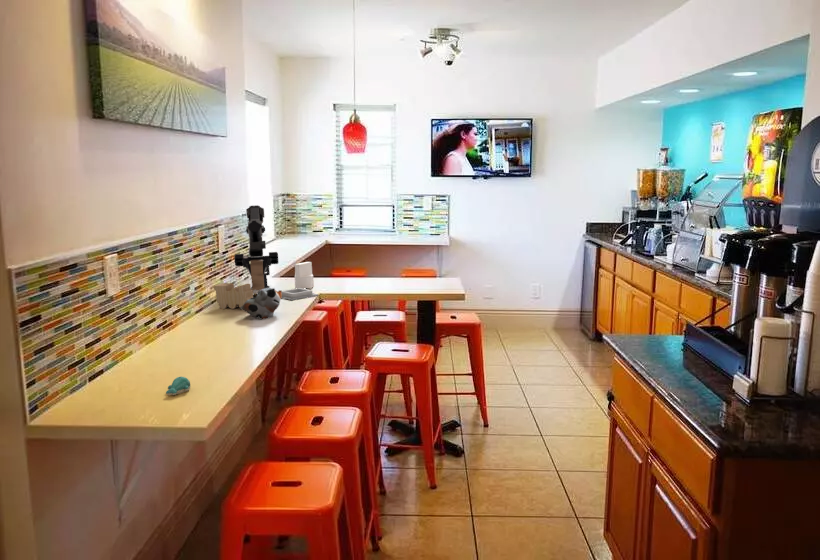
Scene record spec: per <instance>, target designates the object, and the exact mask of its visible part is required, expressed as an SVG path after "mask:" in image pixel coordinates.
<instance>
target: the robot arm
mask: <svg viewBox="0 0 820 560" xmlns="http://www.w3.org/2000/svg"><path fill="white" fill-rule="evenodd" d="M245 211H246V218H247V219H248V222H247V226H246V227H245V229H246V230H245V231H246V232H245V233H246V234H247V235H248V239H249V240H248V243H249V248H248V253H249V255H244V254H245V253H237V254H234V256H233V259H234V265H235V266H236V267H242V268H246V270H247V271H248V274H249V275H250V276H251V264H250V261H251V260H262V261H263V275H264V289H265V288H271V286H270V285H268V277H267V276H270V274H271V272H270V267H271V266H272V265H278V264H279V254H278V252H277V251H271V252H268V255H264V250H265V249H266V247H267V246H266V240H263V234H264V233H265V232H266V227H264V225H263V223H264V218H265V209H264V207H262V206H260V205H258V204H257V205H249V207H248V208H246V210H245ZM251 289H252V286H251Z"/></svg>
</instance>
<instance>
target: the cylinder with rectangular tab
mask: <svg viewBox="0 0 820 560" xmlns="http://www.w3.org/2000/svg"><path fill="white" fill-rule="evenodd" d="M312 264H313V263H312V261H305V262H299V263H294V287H295V288H294V289H296V288H302V289H304V288H310V289H313V288H312V287H315V280H314V274H313V265H312Z"/></svg>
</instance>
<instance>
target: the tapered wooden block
mask: <svg viewBox="0 0 820 560" xmlns="http://www.w3.org/2000/svg"><path fill="white" fill-rule="evenodd" d="M249 262H250V264H251V275H250V277H251V287H252V288H251V289H252V290H253V291H260V290H262V289H265V288H264V275H263V261H262V260H251V261H249Z"/></svg>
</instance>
